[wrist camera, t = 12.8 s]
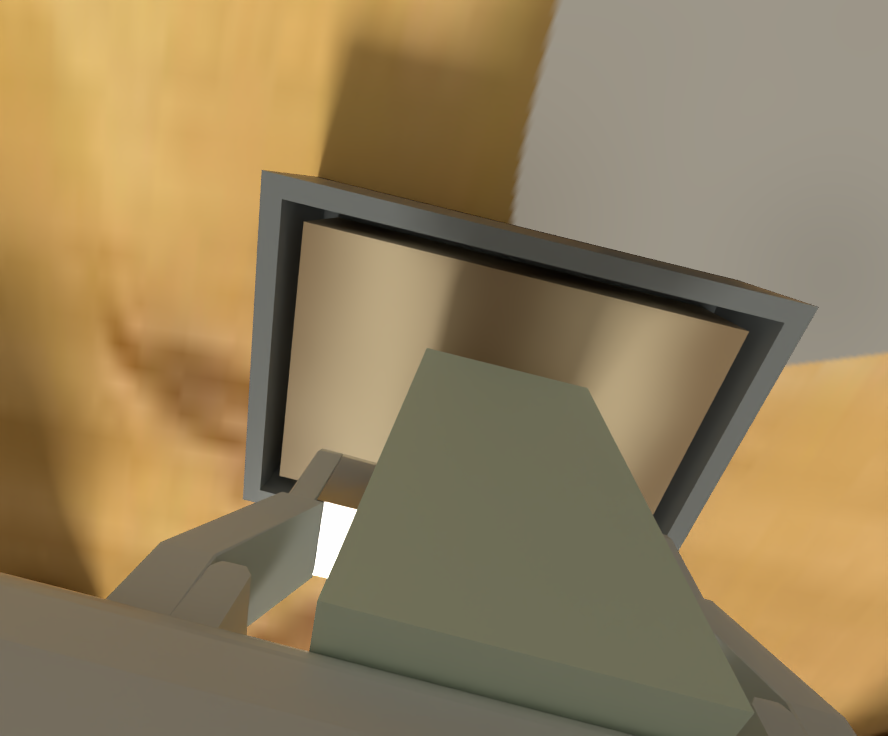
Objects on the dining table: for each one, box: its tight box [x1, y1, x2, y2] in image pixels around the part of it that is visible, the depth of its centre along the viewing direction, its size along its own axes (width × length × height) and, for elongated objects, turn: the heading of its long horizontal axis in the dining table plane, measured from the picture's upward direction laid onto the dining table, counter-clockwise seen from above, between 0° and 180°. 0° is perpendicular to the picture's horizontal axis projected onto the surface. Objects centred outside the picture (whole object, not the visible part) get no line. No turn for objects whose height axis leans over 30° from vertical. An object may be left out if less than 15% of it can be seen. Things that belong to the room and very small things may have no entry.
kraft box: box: [280, 217, 749, 514], centre depth 15 cm, size 13×9×3 cm
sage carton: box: [309, 348, 754, 736], centre depth 9 cm, size 4×4×8 cm
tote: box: [243, 170, 819, 550], centre depth 15 cm, size 15×11×4 cm
